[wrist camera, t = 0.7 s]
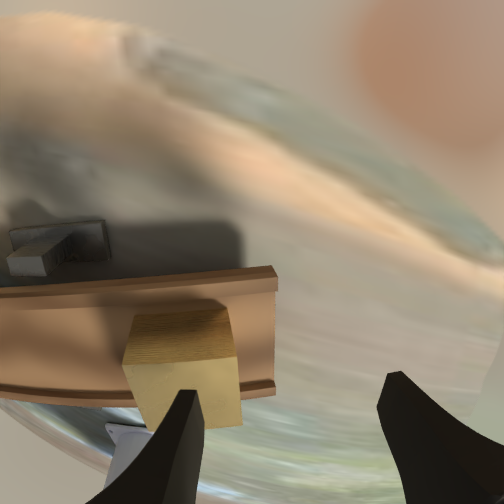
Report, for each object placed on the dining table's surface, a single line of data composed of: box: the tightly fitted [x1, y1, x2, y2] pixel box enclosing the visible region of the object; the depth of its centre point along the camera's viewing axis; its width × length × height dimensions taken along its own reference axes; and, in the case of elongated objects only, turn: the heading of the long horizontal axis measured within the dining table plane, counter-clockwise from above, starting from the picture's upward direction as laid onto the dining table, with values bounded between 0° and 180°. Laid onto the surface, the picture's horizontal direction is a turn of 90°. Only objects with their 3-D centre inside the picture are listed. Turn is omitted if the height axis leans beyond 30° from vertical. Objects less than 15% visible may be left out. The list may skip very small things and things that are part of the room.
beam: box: [0, 265, 278, 407], centre depth 17 cm, size 9×28×6 cm, turn 92°
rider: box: [122, 308, 243, 432], centre depth 15 cm, size 5×5×4 cm
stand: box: [6, 220, 111, 411], centre depth 18 cm, size 13×8×4 cm, turn 2°
